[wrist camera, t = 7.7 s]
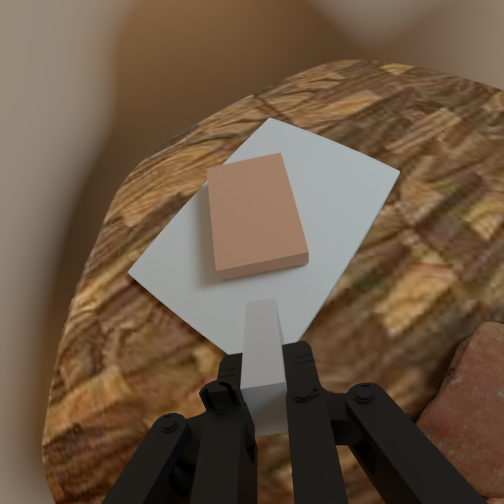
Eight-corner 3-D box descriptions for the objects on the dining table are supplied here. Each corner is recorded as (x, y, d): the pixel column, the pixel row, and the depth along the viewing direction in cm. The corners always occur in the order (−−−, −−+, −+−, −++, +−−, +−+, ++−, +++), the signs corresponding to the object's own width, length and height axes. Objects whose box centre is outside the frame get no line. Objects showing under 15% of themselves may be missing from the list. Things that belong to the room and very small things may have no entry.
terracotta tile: (308, 252, 26) (280, 152, 32) (216, 270, 27) (206, 168, 33) (308, 264, 28) (282, 168, 34) (222, 281, 29) (212, 183, 35)
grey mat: (270, 122, 39) (269, 117, 39) (398, 175, 32) (400, 171, 32) (130, 275, 32) (127, 272, 31) (268, 382, 25) (267, 382, 24)
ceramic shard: (580, 362, 14) (506, 508, 12) (543, 363, 21) (476, 487, 18) (498, 289, 18) (402, 469, 16) (461, 301, 24) (380, 443, 22)
